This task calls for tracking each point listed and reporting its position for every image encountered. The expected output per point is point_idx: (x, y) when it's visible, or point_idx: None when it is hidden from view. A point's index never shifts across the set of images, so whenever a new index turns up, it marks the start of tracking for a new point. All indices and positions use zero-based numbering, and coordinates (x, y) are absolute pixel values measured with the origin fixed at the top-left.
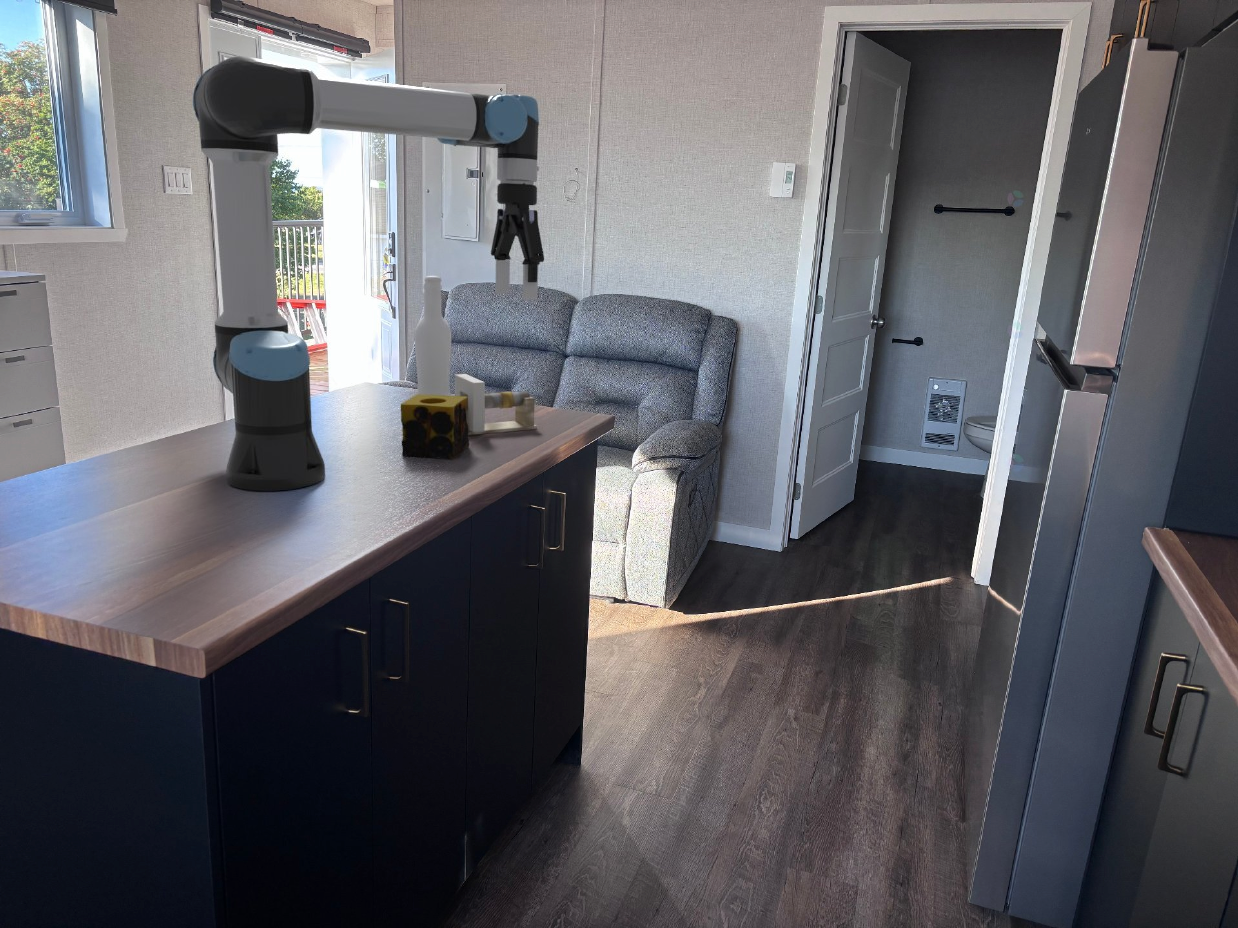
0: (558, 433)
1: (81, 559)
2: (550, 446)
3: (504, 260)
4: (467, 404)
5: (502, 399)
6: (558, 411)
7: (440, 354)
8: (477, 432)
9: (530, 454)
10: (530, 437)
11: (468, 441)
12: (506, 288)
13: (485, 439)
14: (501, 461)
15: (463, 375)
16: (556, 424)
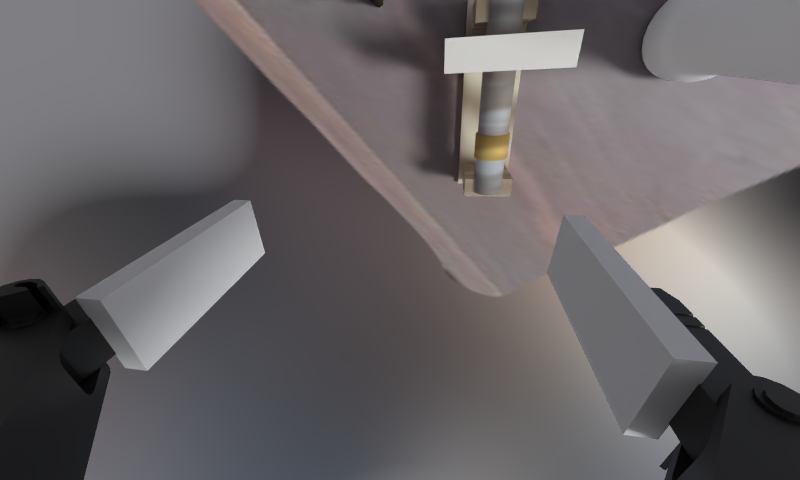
0: (419, 197)
1: None
2: (350, 150)
3: (640, 406)
4: None
5: (479, 133)
6: None
7: (765, 21)
8: None
9: (312, 99)
10: (410, 146)
11: (372, 2)
12: (557, 274)
13: (423, 64)
14: (279, 32)
15: (557, 51)
16: (472, 221)
